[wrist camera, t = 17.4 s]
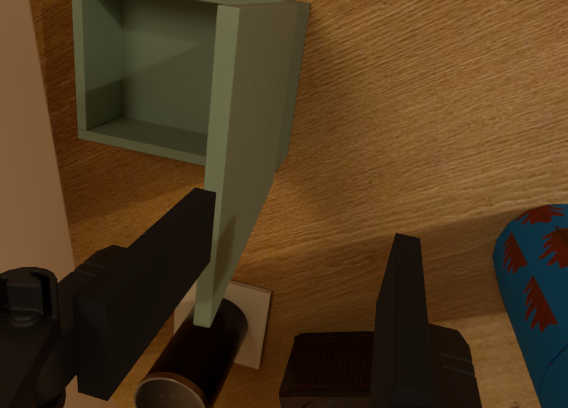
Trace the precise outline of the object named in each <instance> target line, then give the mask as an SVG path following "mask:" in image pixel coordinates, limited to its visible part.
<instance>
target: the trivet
mask: <svg viewBox="0 0 568 408" xmlns="http://www.w3.org/2000/svg"><path fill="white" fill-rule="evenodd" d="M196 283H197V280H196V282H195V283H194V284H193V286H192V287H191V288H190V290H189V291H188V292H187V294H186V295H185V297H184V298H183V299H182V301H181V302H180V303H179V305H178V306H177V307H176V309H175V314H174V333H173V335H174V334H175V332H176V331H177V330H178V328H179V327H180V325H181V324H182V322H183V321H184V319H185V318H186V316H187V315H188V313H189V312H190V310H191V309H192V308H193V306H194V305H195V296H196ZM271 295H272V291H271V290H268V289H264V288H260V287H256V286H252V285H248V284H244V283H240V282H236V281H232V280H230V282H229V285H228V287H227V289H226V292H225V294H224V296H223V298H225V299H227V300H230V301H231V302H233V303H234V304H236V305H237V306H238V307H239V308H240V309H241V310H242V311H243V313H244V314H245V316H246V319H247V322H248V332H247V335H246V337H245V340H244V342H243V344H242V346H241V348H240V350H239V353H238V355H237V357H236V359H235V361H234V363H237V364H240V365H244V366H247V367H251V368H254V369H259V367H260V364H261V358H262V351H263V345H264V339H265V332H266V326H267V320H268V313H269V307H270V301H271Z"/></svg>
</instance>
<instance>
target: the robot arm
mask: <svg viewBox="0 0 568 408" xmlns="http://www.w3.org/2000/svg"><path fill="white" fill-rule="evenodd" d="M215 202H216V192H213V191H208V190H204V189H200V188H194V189H193V190H192V191H191V192H189V193H188V194H187V195H186V196H185V197H184V198H183V199H182V200H181V201H179V202H178V203H177V204H176V205H175V206H174V207H173V208H172V209H170V210H169V211H168V212H167V213H166V214H165V215H164V216H163V217H161V218H160V219H159V220H158V221H157V222H156V223H155V224H154V225H153V226H151V227H150V228H149V229H148V230H147V231H146V232H145V233H144V234H142V235H141V236H140V237H139V238H138V239H137V240H136V241H135V242H134V243H132V244H131V245H130V246H129V247H128V248H124V247H120V246H116V245H112V246H109V247H107V248H104V249H102V250H99V251H97V252H95V253H94V254H93V255H92V256H91V257H89V258H88V259H87V260H86V261H84V264H81V265H79V266H78V267H77V268H76V269H75V270H74V272H71V273H70V274H69V275H67V276H66V277H65V278H64V279H63V280H61V281H60V282H59V283H57V278H56V276H55V275H54V273H52V272H50V271H49V270H47V269H43V268H37V267H21V268H17V269H12V270H8V271H6V272H4V273H1V274H0V408H63V407H64V404H65V398H66V390H65V387H66V386H67V385H68V384H69V383H70V381H71V380H72V379H73V378H74V377H75V376H76V375H77V383H78V392H79V393H83V394H86V395H89V396H93V397H96V398H99V399H102V400H105V401H108V400H109V398H110V397H111V396H112V394H113V393H114V392H115V390H116V389H117V388H118V386H119V385H120V384H121V382H122V381H123V379H124V378H125V377H126V375H127V374H128V373H129V371H130V370H131V369H132V367H133V366H134V365H135V363H136V362H137V360H138V359H139V358H140V356H141V355H142V354H143V352H144V351H145V350H146V348H147V347H148V345H149V344H150V343H151V341H152V340H153V339H154V337H155V336H156V335H157V333H158V332H159V331H160V329H161V328H162V326H163V325H164V324H165V322H166V321H167V320H168V318H169V317H170V316H171V314H172V313H173V312H174V310H175V309H176V307H177V306H178V305H179V303H180V302H181V301H182V299H183V298H184V297H185V295H186V294H187V292H188V291H189V290H190V288H191V287H192V286H193V284H194V283H195V282H196V280H197V279H198V278H199V276H200V275H201V273H202V272H203V271H204V269H205V268H206V267H207V265H208V264H209V263H210V259H211V248H212V236H213V225H214V214H215ZM369 408H482V405H481V400H480V395H479V390H478V386H477V381H476V377H475V371H474V367H473V364H472V357H471V352H470V347H469V345H468V344H467V342H466V341H465V339H464V338H463V337H462V335H461V334H460V332H459V331H458V330H454V329H450V328H446V327H442V326H438V325H434V324H430V323H428V317H427V306H426V296H425V285H424V275H423V264H422V254H421V243H420V238H416V237H411V236H407V235H402V234H398V233H396V234H395V238H394V242H393V245H392V249H391V252H390V256H389V260H388V263H387V267H386V271H385V274H384V278H383V281H382V285H381V289H380V292H379V296H378V300H377V304H376V317H375V331H374V345H373V359H372V372H371V386H370V400H369Z"/></svg>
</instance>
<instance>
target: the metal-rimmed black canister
mask: <svg viewBox="0 0 568 408" xmlns="http://www.w3.org/2000/svg"><path fill="white" fill-rule="evenodd" d="M194 309H195V305H194V306H193V308H192V309H191V310H190V312H189V313H188V315H187V316H186V318H185V319H184V321H183V322H182V324H181V325H180V327H179V328H178V330H177V331H176V332H175V334H174V335H173V337H172V338H171V340H170V341H169V343H168V344H167V346H166V347H165V349H164V350H163V352H162V353H161V354H160V356H159V357H158V359H157V360H156V362H155V363H154V365H153V366H152V368H151V369H150V371H149V372H148V374H147V375H146V376H145V378H143V379H142V381H141V382H140V383H139V385H138V386H137V388H136V390H135V393H134V404H135V407H136V408H213V407H214V405H215V403H216V400H217V398H218V396H219V394H220V392H221V389H222V387H223V385H224V383H225V381H226V379H227V376H228V374H229V372H230V370H231V368H232V366H233V363H234V361H235V359H236V357H237V355H238V353H239V350H240V348H241V346H242V344H243V342H244V340H245V337H246V335H247V332H248V322H247V319H246V316H245V314H244V313H243V311H242V310H241V309H240V308H239V307H238V306H237V305H236V304H234V303H233V302H231V301H230V300H227V299H225V298H222V301H221V303H220V305H219V308H218V310H217V312H216V314H215V317H214V319H213V321H212V324H211V326H210V327H209V328H208V327H203V326H198V325H194Z"/></svg>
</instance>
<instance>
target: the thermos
mask: <svg viewBox="0 0 568 408" xmlns="http://www.w3.org/2000/svg"><path fill="white" fill-rule="evenodd" d="M493 261H494V267H495V273H496V277H497V281H498V285H499V289H500V293H501V296H502V299H503V302H504V305H505V307H506V310H507V313H508V316H509V318H510V321H511V324H512V327H513V330H514V332H515V335H516V338H517V341H518V344H519V346H520V349H521V352H522V355H523V357H524V360H525V363H526V366H527V369H528V371H529V374H530V377H531V380H532V382H533V385H534V388H535V391H536V394H537V396H538V399H539V402H540V405H541V408H568V204H555V205H545V206H542V207H539V208H536V209H532V210H529V211H526V212H525V213H523V214H522V215H520V216H519V217H517V218H516V219H514V220H513V221H512V222H510V223H509V224H508V225H507V226H506V228H505V229H504V230H503V232H502V233H501V234H500V236H499V237H498V238H497V241H496V245H495V249H494V253H493Z"/></svg>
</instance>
